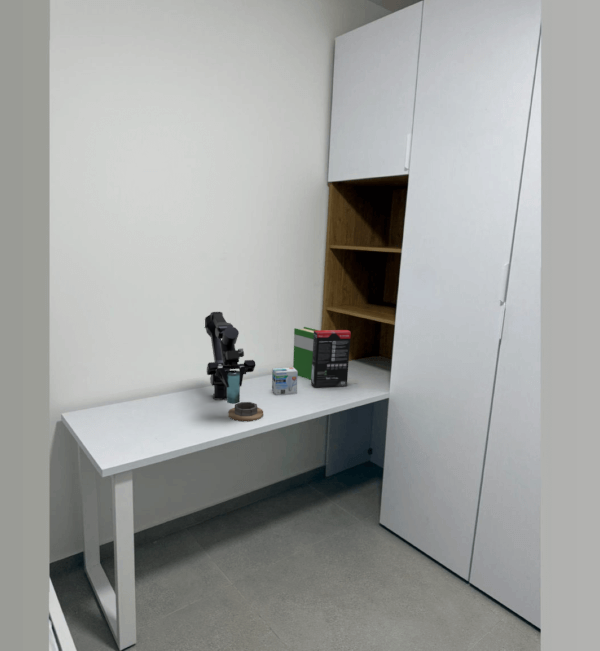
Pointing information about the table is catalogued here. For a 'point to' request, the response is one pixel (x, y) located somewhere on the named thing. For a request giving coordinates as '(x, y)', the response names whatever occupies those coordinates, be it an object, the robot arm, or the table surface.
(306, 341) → the hardback book
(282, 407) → the table surface
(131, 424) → the table surface
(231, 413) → the socket dock
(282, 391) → the light bulb box
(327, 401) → the table surface
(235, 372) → the ball
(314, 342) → the graphics card box
